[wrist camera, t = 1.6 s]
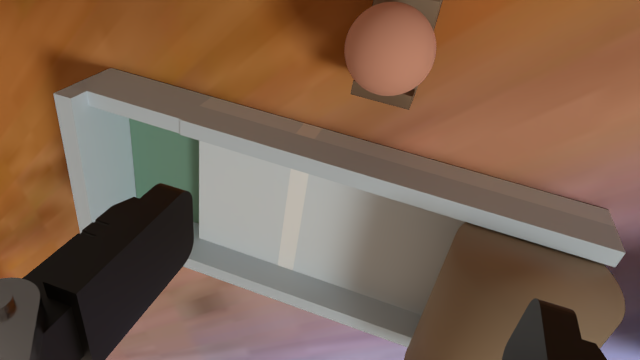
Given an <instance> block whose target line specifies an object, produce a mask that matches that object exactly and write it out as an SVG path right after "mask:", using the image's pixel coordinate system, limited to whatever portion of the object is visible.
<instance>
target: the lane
mask: <svg viewBox="0 0 640 360" xmlns="http://www.w3.org/2000/svg"><path fill="white" fill-rule="evenodd" d="M53 94H54V99H55V104H56V110H57V115H58V120H59V125H60V130H61V136H62V141H63V146H64V151H65V156H66V162H67V167H68V172H69V177H70V182H71V188H72V193H73V198H74V203H75V208H76V213H77V219H78V224H79V229H80V234H81V232H82V230H83V229H84V228H85V227H87V226H88V225H89V224H90V223H92V222H95V220H96V219H97V218H98V217H99V216H100V215H101V214H103V213H104V212H105V211H106V210H108V209H109V208H110V207H111V206H113V205H115V204H118V203H120V202H122V201H125V200H127V199H130V198H132V197H136V198H137V196H136V185H135V175H134V164H133V154H132V143H131V133H130V122H129V118H130V119H133V120H137V121H140V122H143V123H147V124H150V125H153V126H156V127H160V128H163V129H166V130H170V131H173V132H176V133H179V134H180V135H183V136H186V137H189V138H193V139H196V140H199V223H196V222H193V226H194V243H193V248H192V251H191V254H190V256H189V258H188V260H187V261H186V263H185V264H184V265H183V267H186V268H189V269H192V270H194V271H197V272H200V273H203V274H205V275H208V276H211V277H214V278H217V279H219V280H222V281H225V282H228V283H230V284H233V285H236V286H239V287H242V288H244V289H247V290H250V291H253V292H255V293H258V294H261V295H264V296H267V297H269V298H272V299H275V300H278V301H280V302H283V303H286V304H289V305H292V306H294V307H297V308H300V309H303V310H305V311H308V312H311V313H314V314H316V315H319V316H322V317H325V318H328V319H330V320H333V321H336V322H339V323H341V324H344V325H347V326H350V327H353V328H355V329H358V330H361V331H364V332H366V333H369V334H372V335H375V336H378V337H380V338H383V339H386V340H389V341H391V342H394V343H397V344H400V345H403V346H405V347H408V348H407V351H406V354H405V358H404V360H502V357H503V353H504V349H505V346H506V344H507V342H508V340H509V338H510V337H511V335H512V333H513V331H514V329H515V328H516V326H517V324H518V322H519V321H520V319H521V317H522V315H523V314H524V312H525V310H526V308H527V306H528V305H529V303H530V302H531V301H532V300H533V299H535V298H536V299H539V300H543V301H546V302H549V303H553V304H556V305H559V306H562V307H566V308H569V309H572V310H574V312H575V313H576V316H577V320H578V324H579V329H580V333H581V338H582V339H583V340H586V341H590V342H593V343H596V344H597V346H598V347H599V349H600V348H601V347H602V345H603V344H604V343H605V342H606V340H607V339H608V338H609V337H610V335H611V334H612V333H613V332H614V330H615V329H616V328H617V327H618V326H619V324H620V323H621V321H622V319H623V317H624V314H625V300H624V296H623V293H622V291H621V289H620V286H619V285H618V283H617V281H616V279H615V278H614V277H613V275H612V274H611V273H610V271H609V270H608V269H607V268H606V267H605V265H609V266H612V267H616V266H617V264H618V263H619V262H620V260H621V259H622V257H623V256H624V255H625V253H626V252H625V250H624V247H623V245H622V242H621V240H620V237H619V235H618V232H617V230H616V227H615V224H614V222H613V219H612V217H611V214H610V212H609V210H607V209H604V208H600V207H597V206H593V205H590V204H586V203H583V202H579V201H576V200H572V199H569V198H565V197H562V196H558V195H555V194H551V193H548V192H544V191H541V190H537V189H534V188H530V187H527V186H523V185H520V184H516V183H513V182H509V181H506V180H502V179H499V178H495V177H492V176H488V175H484V174H481V173H477V172H474V171H470V170H467V169H463V168H460V167H456V166H453V165H449V164H446V163H442V162H439V161H435V160H432V159H428V158H425V157H421V156H418V155H414V154H411V153H407V152H404V151H400V150H397V149H393V148H390V147H386V146H383V145H379V144H376V143H372V142H369V141H365V140H362V139H358V138H355V137H351V136H348V135H344V134H341V133H337V132H334V131H330V130H327V129H323V128H320V127H316V126H313V125H309V124H306V123H302V122H299V121H295V120H292V119H288V118H285V117H281V116H278V115H274V114H271V113H267V112H264V111H260V110H257V109H253V108H250V107H246V106H243V105H239V104H236V103H232V102H229V101H225V100H222V99H218V98H215V97H211V96H208V95H204V94H201V93H197V92H194V91H190V90H187V89H183V88H180V87H176V86H173V85H169V84H166V83H162V82H159V81H155V80H152V79H148V78H145V77H141V76H138V75H134V74H131V73H127V72H124V71H120V70H117V69H113V68H109V69H107V70H105V71H102V72H100V73H98V74H96V75H93V76H91V77H89V78H87V79H84V80H82V81H80V82H78V83H75V84H73V85H71V86H69V87H66V88H64V89H62V90H60V91H57V92H55V93H53ZM604 264H605V265H604Z"/></svg>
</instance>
